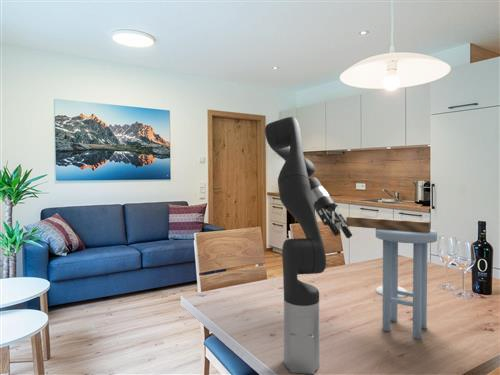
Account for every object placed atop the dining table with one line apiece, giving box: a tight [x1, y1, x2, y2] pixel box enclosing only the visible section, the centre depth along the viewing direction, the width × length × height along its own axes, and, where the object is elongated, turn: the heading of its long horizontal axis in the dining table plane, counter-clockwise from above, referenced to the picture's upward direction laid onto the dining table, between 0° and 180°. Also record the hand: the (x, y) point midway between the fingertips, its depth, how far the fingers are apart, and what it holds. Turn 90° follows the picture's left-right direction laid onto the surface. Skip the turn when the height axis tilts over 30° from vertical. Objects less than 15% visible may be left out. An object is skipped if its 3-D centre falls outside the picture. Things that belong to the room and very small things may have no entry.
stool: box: [375, 228, 438, 340], centre depth 111 cm, size 18×18×32 cm
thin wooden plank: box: [345, 215, 432, 233], centre depth 114 cm, size 26×3×3 cm, turn 53°
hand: (344, 235), depth 120 cm, fingers open, 8 cm apart
